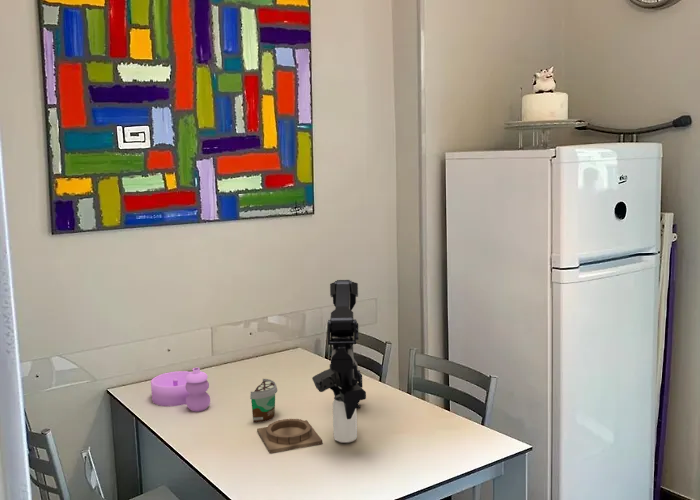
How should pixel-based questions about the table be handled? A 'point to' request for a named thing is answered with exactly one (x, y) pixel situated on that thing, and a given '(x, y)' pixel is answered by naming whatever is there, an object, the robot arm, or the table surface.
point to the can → (343, 423)
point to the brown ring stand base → (288, 435)
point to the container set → (181, 389)
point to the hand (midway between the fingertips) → (344, 414)
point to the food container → (263, 401)
